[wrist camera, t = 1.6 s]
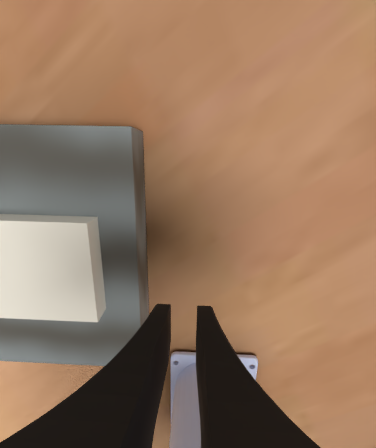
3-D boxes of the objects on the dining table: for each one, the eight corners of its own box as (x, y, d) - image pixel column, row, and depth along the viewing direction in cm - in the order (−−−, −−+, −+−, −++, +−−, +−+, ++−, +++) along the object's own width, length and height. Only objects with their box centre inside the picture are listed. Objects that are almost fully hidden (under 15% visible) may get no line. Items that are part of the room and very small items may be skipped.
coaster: (106, 308, 17) (97, 322, 16) (14, 304, 17) (-3, 317, 16) (97, 216, 15) (86, 223, 14) (-7, 213, 15) (-28, 219, 14)
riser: (149, 339, 21) (142, 368, 18) (23, 333, 22) (-3, 360, 19) (142, 131, 16) (131, 126, 13) (-22, 128, 17) (-68, 123, 14)
